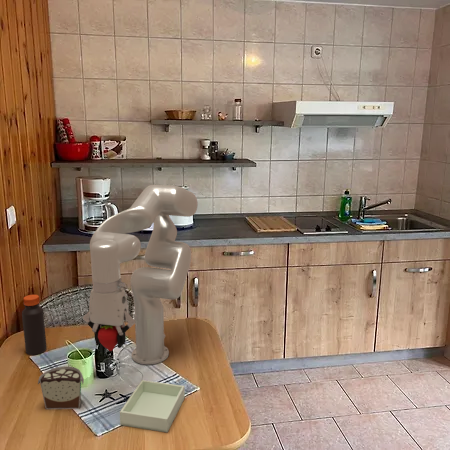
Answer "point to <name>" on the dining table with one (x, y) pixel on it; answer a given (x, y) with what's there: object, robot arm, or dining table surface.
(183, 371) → the dining table surface
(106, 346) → the strawberry
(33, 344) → the bottle
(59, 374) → the food container
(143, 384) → the serving tray
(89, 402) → the dining table surface
